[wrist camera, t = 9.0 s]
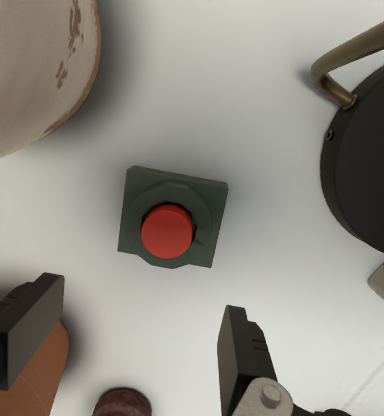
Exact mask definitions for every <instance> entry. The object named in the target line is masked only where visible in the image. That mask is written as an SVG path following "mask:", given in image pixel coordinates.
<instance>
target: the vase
mask: <svg viewBox="0 0 384 416" xmlns="http://www.w3.org/2000/svg"><path fill="white" fill-rule="evenodd" d="M100 51H101V27H100V21H99V15H98V9H97V3H96V0H0V158H2V157H4V156H6V155H8V154H11V153H13V152H15V151H17V150H19V149H21V148H23V147H26V146H28V145H30V144H32V143H34V142H36V141H38V140H40V139H42V138H43V137H45V136H46V135H48V134H50V133H51V132H52V131H54V130H55V129H56V128H58V127H59V126H60V125H62V124H63V123H64V122H65V121H67V120H68V119H69V118H70V117H71V116H72V115H73V114H74V113H75V112H76V111H77V110H78V108H79V107H80V106H81V104H82V103H83V101H84V100H85V98H86V97H87V95H88V94H89V92H90V90H91V88H92V86H93V83H94V81H95V79H96V75H97V71H98V68H99V60H100Z"/></svg>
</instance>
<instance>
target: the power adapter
mask: <svg viewBox="0 0 384 416" xmlns="http://www.w3.org/2000/svg"><path fill="white" fill-rule="evenodd" d="M368 285H369V286H370V287H371V288H372V289H373V290H374V291H375V292H376V293H377V294H378V295H379V296H380V297H381V298H382V299H383V300H384V264H382V265H381V266H380V267H379V268H378V270H377V271H376V272H375V273H374V274H373V275H372V276H371V277H370V278H369V280H368Z"/></svg>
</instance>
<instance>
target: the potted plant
mask: <svg viewBox="0 0 384 416" xmlns="http://www.w3.org/2000/svg"><path fill="white" fill-rule="evenodd" d="M69 346H70V342H69V338H68V334H67V331H66V329H65V328H64V326H63V324H62V323H61V321H60V320H59V321H58V322H57V324H56V325H55V327H54V328H53V329H52V331H51V332H50V334H49V335H48V336H47V338H46V339H45V340H44V342H43V343H42V345H41V346H40V347H39V349H38V350H37V352H36V353H35V354H34V356H33V357H32V358H31V360H30V361H29V363H28V364H27V365H26V367H25V368H24V370H23V371H22V372H21V374H20V375H19V376H18V378H17V379H16V381H15V382H14V383H13V385H12V386H11V388H10V389H9V390H8V391H3V390H0V416H49V415H50V411H51V408H52V405H53V402H54V399H55V395H56V392H57V389H58V386H59V382H60V379H61V376H62V373H63V370H64V366H65V363H66V360H67V357H68V352H69Z"/></svg>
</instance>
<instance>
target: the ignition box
mask: <svg viewBox="0 0 384 416" xmlns="http://www.w3.org/2000/svg"><path fill="white" fill-rule="evenodd" d="M228 190H229V188H228V186H227V184H226V183H224V182H218V181H213V180H207V179H202V178H197V177H191V176H186V175H181V174H175V173H170V172H164V171H159V170H154V169H148V168H143V167H138V166H133V167H131V168H129V169H128V170H127V176H126V184H125V192H124V200H123V209H122V217H121V225H120V234H119V242H118V250H117V251H119V252H124V253H130V254H136V255H139V256H140V257H141V258H142V259H144V260H145V261H146V262H148V263H149V264H150V265H153V266H159V267H164V268H170V269H175V268H178V267H181V266H184V265H187V264H191V265H197V266H202V267H208V268H211V266H212V262H213V257H214V253H215V248H216V244H217V239H218V235H219V230H220V226H221V221H222V217H223V212H224V208H225V203H226V199H227V194H228ZM161 205H175V206H178V207H180V208H182V209H183V210H185V211H186V212H187V214H188V215H189V216H190V218H191V221H192V225H193V231H192V240H191V243H190V246H189V247H188V249H187V250H186V251H185V252H184V253H183V254H181V255H180V256H177V257H174V258H160V257H157V256H155V255H153V254H152V253H150V252H149V251H148V250H147V249H146V247H145V246H144V244H143V241H142V238H141V229H142V226H143V224H144V222H145V220H146V218H147V217H148V215H149V214H150V212H151V211H152V210H153V209H155V208H157V207H159V206H161Z"/></svg>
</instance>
